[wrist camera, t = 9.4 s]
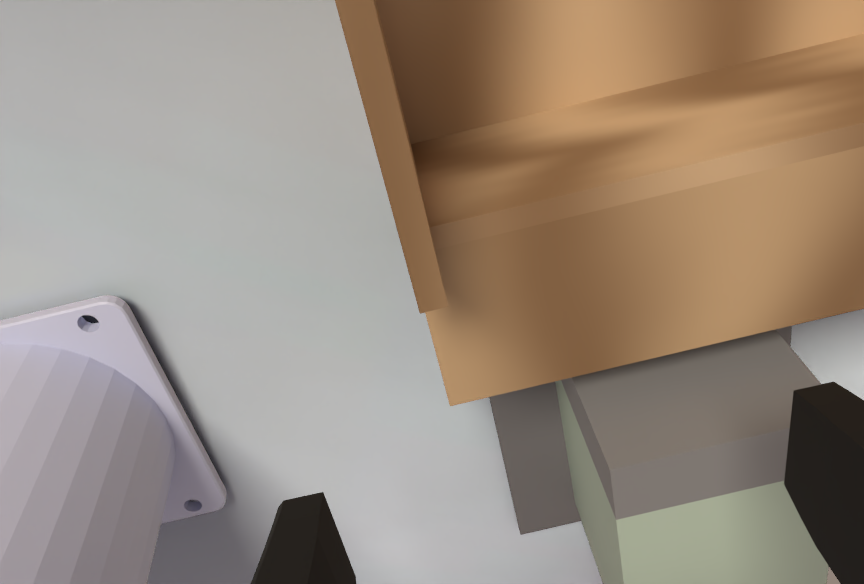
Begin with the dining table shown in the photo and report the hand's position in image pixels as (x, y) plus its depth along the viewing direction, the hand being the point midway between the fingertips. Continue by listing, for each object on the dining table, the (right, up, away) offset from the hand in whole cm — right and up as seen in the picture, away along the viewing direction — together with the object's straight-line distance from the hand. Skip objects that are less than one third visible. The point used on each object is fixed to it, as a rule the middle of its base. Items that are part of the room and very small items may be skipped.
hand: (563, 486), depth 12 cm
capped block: (+4, 0, +11) cm, 12 cm away
